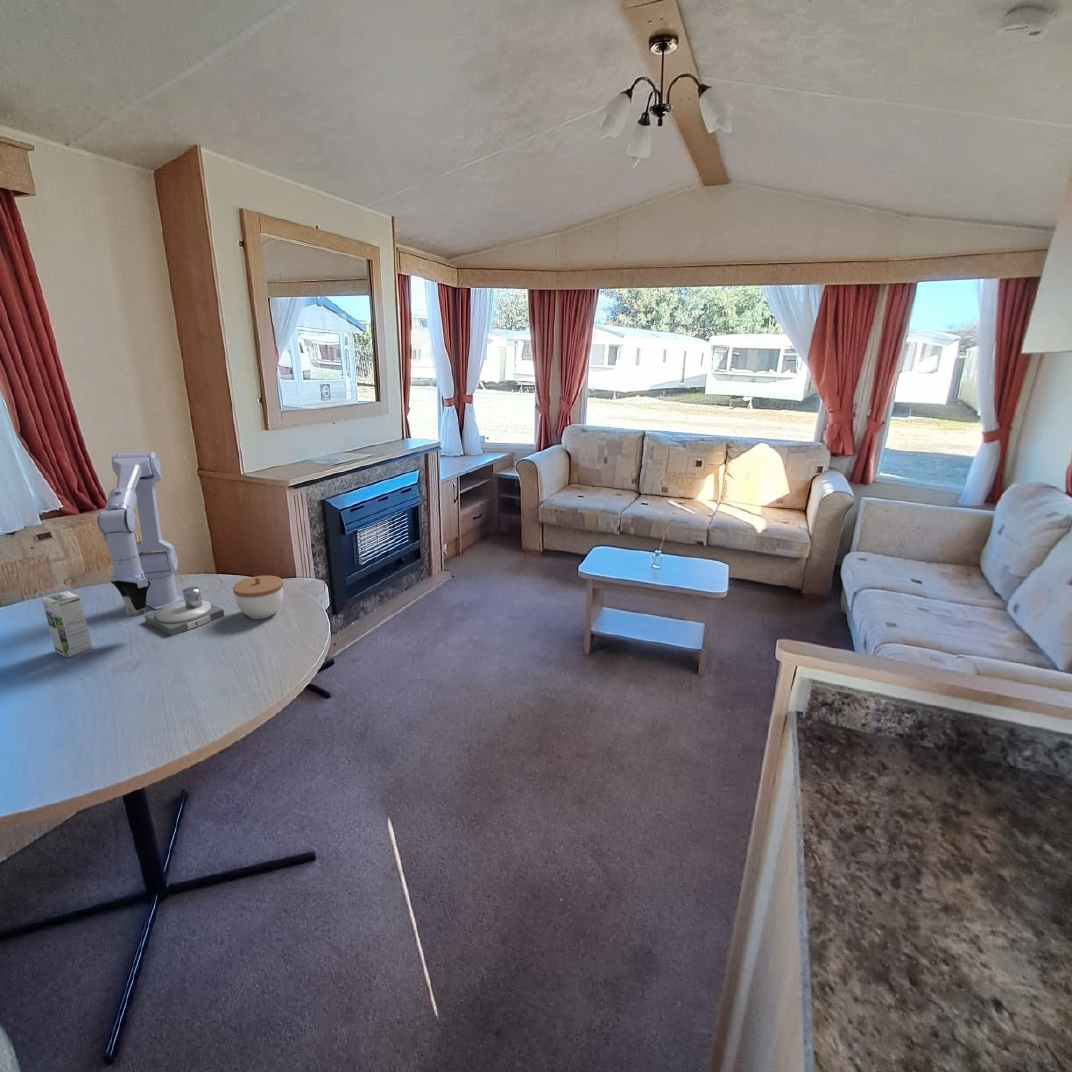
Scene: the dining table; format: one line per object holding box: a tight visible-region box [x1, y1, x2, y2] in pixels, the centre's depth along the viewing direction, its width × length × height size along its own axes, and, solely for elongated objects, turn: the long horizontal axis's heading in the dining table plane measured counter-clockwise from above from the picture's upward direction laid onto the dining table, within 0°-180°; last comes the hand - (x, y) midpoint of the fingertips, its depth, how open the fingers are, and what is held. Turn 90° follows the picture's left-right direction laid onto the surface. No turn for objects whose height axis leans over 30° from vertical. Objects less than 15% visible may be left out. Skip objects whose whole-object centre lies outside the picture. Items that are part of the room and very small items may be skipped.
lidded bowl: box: [232, 575, 284, 620], centre depth 159 cm, size 13×13×11 cm
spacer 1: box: [122, 594, 147, 618], centre depth 143 cm, size 4×4×5 cm
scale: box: [143, 599, 225, 637], centre depth 156 cm, size 15×14×3 cm
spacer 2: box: [182, 586, 203, 609], centre depth 157 cm, size 4×4×5 cm
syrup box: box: [41, 590, 93, 658], centre depth 138 cm, size 6×6×14 cm
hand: (136, 606), depth 144 cm, fingers closed on spacer 1, 4 cm apart
